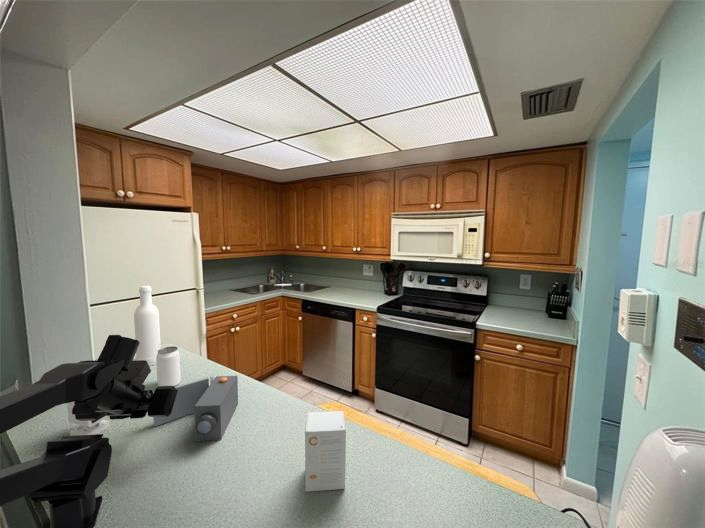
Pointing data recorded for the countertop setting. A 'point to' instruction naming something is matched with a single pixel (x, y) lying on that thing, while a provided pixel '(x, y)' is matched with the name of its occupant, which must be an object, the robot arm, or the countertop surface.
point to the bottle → (147, 327)
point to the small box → (325, 451)
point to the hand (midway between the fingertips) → (146, 410)
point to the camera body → (216, 407)
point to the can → (168, 366)
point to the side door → (185, 400)
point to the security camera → (87, 423)
